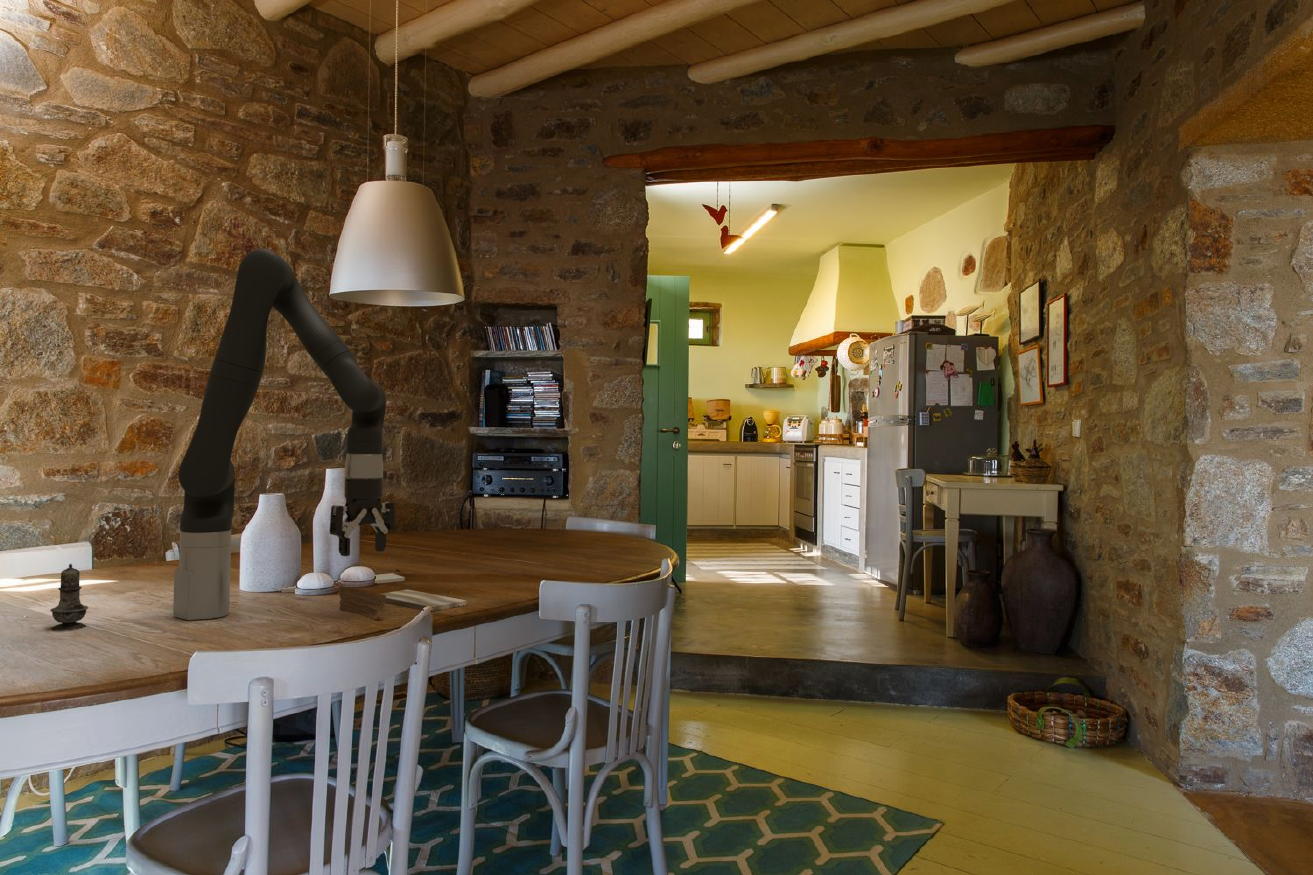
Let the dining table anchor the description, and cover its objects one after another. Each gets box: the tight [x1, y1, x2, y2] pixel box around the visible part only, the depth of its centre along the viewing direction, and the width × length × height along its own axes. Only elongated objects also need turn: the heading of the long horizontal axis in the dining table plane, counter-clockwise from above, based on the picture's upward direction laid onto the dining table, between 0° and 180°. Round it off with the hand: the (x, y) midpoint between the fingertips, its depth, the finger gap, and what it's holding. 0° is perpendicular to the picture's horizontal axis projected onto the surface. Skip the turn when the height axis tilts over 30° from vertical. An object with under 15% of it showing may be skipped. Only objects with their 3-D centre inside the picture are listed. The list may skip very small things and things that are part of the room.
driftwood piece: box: [337, 586, 387, 621], centre depth 178 cm, size 15×2×5 cm, turn 53°
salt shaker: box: [49, 563, 89, 632], centre depth 160 cm, size 6×6×12 cm
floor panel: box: [380, 589, 468, 612], centre depth 192 cm, size 10×20×1 cm, turn 56°
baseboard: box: [279, 569, 406, 593], centre depth 213 cm, size 30×3×10 cm
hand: (362, 553), depth 178 cm, fingers open, 8 cm apart
